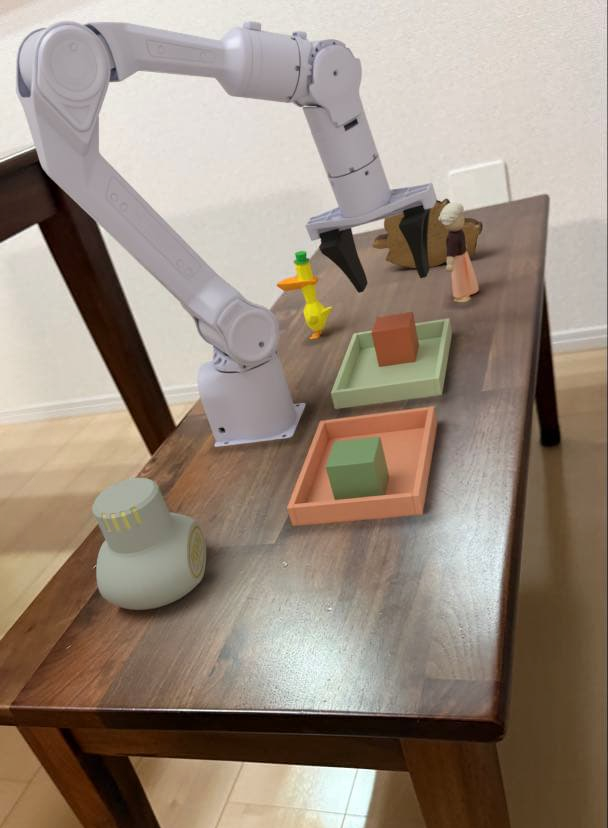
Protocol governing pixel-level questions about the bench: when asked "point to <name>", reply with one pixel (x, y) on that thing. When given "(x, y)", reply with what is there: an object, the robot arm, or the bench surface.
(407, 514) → the terracotta tray
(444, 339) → the sage tray
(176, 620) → the bench surface
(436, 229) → the wooden carving
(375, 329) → the terracotta block
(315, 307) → the toy figure
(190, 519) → the air freshener
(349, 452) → the sage block
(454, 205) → the grandmother figurine
